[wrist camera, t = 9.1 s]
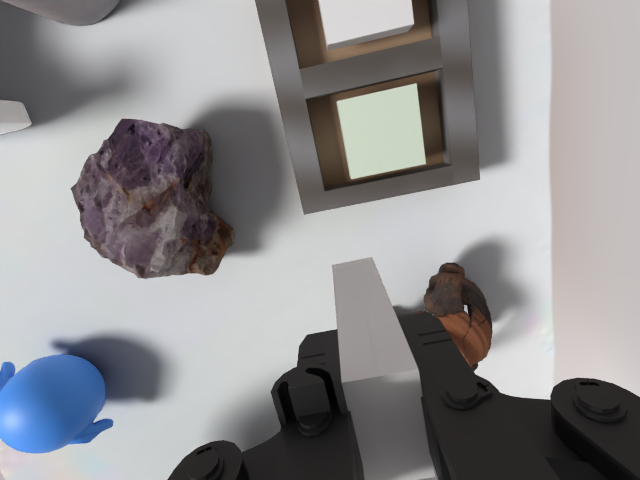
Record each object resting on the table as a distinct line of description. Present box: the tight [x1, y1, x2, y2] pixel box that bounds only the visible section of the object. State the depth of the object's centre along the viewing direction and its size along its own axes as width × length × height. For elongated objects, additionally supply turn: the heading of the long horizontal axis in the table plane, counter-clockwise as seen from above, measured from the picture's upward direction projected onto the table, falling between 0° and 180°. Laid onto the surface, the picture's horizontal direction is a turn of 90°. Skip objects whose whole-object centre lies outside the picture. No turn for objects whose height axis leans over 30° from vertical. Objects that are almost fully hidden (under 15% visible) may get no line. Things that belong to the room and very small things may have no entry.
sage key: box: [337, 83, 426, 179], centre depth 27 cm, size 6×6×2 cm
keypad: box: [255, 0, 480, 214], centre depth 26 cm, size 28×14×4 cm, turn 12°
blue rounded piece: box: [0, 354, 113, 453], centre depth 35 cm, size 12×12×8 cm
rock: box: [71, 119, 235, 279], centre depth 28 cm, size 12×9×10 cm
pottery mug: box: [408, 263, 492, 372], centre depth 32 cm, size 12×10×8 cm
